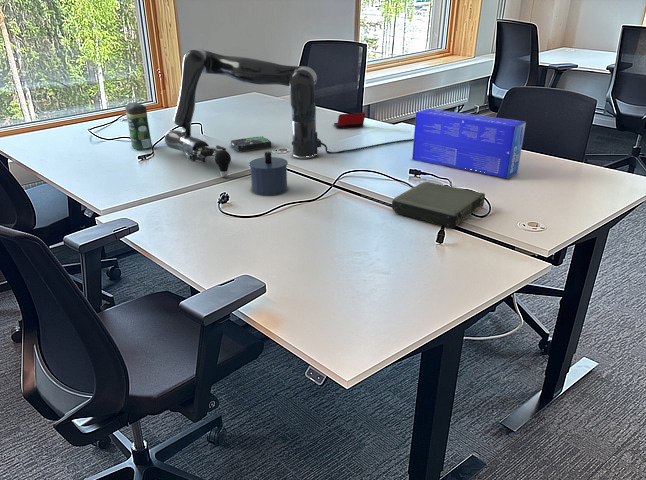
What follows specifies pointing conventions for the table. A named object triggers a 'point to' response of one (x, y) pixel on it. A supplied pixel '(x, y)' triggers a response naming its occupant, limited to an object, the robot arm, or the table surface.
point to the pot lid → (268, 162)
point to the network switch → (438, 203)
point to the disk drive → (250, 144)
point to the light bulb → (223, 161)
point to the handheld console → (350, 120)
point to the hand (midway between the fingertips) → (215, 157)
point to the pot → (269, 181)
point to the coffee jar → (138, 126)
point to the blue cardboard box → (468, 142)
